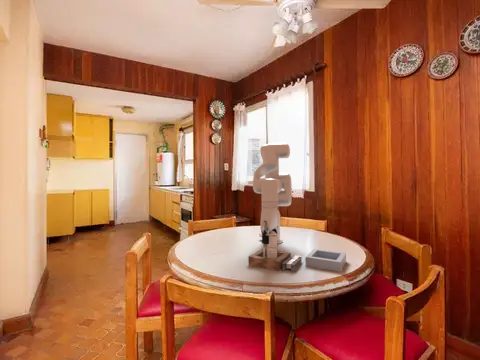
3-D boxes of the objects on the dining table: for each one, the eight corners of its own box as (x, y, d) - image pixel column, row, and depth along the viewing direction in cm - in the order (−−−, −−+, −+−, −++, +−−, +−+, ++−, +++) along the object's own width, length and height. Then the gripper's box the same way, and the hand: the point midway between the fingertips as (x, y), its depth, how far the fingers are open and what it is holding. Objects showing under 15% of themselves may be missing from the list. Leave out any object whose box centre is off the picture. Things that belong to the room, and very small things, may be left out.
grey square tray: (305, 265, 118) (305, 256, 118) (314, 256, 131) (314, 248, 131) (340, 271, 110) (340, 262, 110) (346, 261, 123) (346, 253, 123)
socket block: (248, 265, 119) (248, 256, 119) (262, 256, 132) (262, 248, 132) (292, 273, 109) (292, 264, 109) (303, 263, 121) (303, 254, 121)
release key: (285, 269, 113) (285, 263, 113) (295, 260, 124) (295, 254, 124) (292, 270, 111) (292, 264, 111) (301, 261, 122) (301, 255, 122)
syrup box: (262, 261, 125) (262, 231, 124) (275, 260, 125) (274, 230, 125) (265, 265, 119) (264, 233, 119) (277, 264, 119) (277, 233, 119)
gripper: (269, 203, 131) (270, 237, 131) (253, 206, 116) (254, 244, 116) (284, 203, 127) (284, 239, 127) (269, 207, 112) (269, 246, 112)
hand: (269, 241), depth 121 cm, fingers open, 9 cm apart
